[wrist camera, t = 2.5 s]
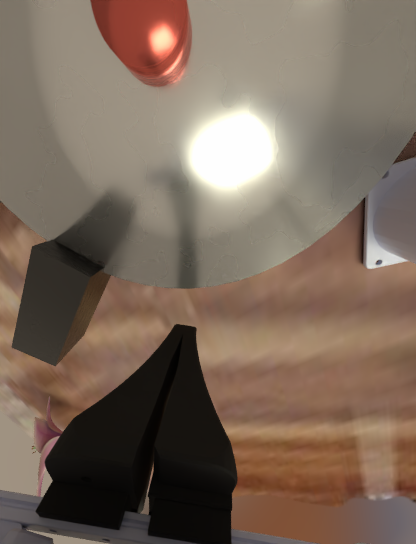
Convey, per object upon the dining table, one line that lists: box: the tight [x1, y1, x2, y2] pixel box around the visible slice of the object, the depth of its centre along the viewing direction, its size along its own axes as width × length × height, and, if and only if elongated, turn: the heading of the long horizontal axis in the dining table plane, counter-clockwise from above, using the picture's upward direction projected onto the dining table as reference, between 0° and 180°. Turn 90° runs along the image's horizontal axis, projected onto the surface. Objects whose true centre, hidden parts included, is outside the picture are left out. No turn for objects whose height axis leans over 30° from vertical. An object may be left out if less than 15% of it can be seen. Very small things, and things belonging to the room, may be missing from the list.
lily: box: [32, 396, 63, 497], centre depth 28 cm, size 12×12×10 cm
